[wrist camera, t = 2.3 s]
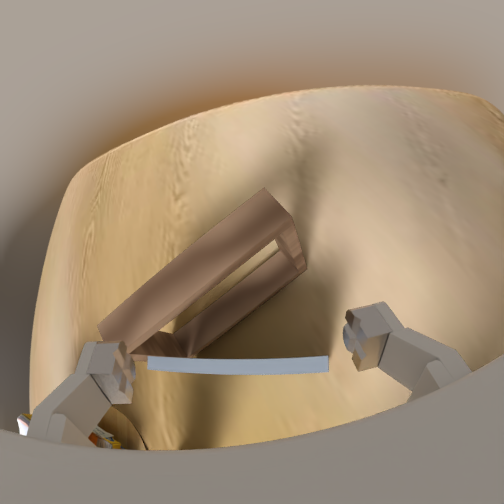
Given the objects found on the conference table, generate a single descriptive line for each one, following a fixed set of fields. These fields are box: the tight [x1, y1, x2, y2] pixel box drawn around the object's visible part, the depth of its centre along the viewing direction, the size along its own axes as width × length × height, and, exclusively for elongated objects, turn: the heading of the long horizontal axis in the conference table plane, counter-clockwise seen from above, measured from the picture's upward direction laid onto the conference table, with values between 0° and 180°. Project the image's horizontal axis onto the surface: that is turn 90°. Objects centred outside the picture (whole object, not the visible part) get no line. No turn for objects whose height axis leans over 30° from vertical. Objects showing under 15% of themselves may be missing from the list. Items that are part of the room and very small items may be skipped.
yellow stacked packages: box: [17, 406, 146, 450], centre depth 33 cm, size 25×25×17 cm
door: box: [148, 355, 329, 375], centre depth 35 cm, size 2×20×12 cm, turn 91°
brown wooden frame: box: [97, 188, 307, 361], centre depth 37 cm, size 4×24×18 cm, turn 126°
